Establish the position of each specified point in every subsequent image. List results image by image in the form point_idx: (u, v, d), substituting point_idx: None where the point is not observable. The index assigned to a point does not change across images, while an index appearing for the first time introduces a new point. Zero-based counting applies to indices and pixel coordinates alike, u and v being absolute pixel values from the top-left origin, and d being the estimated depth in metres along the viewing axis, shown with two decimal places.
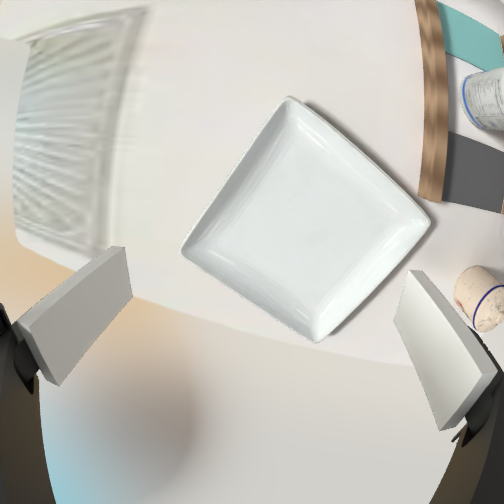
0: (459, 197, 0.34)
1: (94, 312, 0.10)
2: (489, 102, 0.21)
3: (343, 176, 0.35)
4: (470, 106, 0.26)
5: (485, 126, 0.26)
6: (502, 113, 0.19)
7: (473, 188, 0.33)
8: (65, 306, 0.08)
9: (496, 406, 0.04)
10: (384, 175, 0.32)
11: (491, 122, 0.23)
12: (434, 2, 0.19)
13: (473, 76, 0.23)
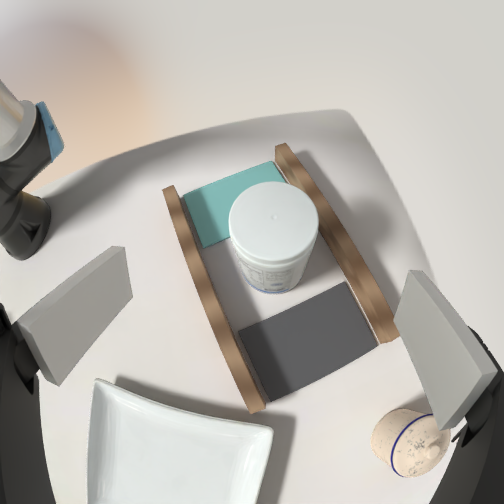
0: (304, 378, 0.34)
1: (94, 312, 0.10)
2: (247, 270, 0.32)
3: (169, 428, 0.32)
4: (252, 284, 0.37)
5: (281, 288, 0.36)
6: (258, 272, 0.30)
7: (317, 357, 0.35)
8: (65, 306, 0.08)
9: (496, 406, 0.04)
10: (191, 415, 0.30)
11: (273, 284, 0.34)
12: (176, 201, 0.42)
13: None
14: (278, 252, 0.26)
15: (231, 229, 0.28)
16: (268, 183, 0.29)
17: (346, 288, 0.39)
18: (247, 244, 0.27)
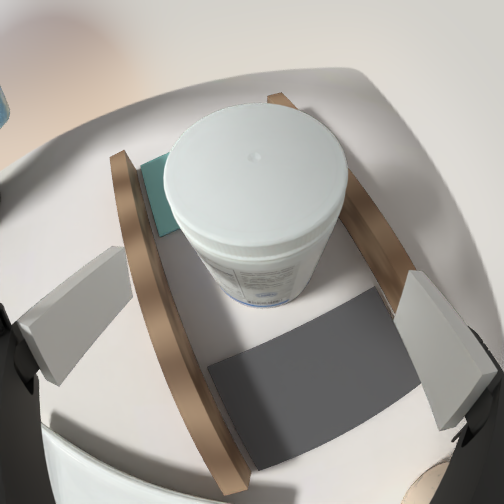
0: (312, 438, 0.19)
1: (94, 312, 0.10)
2: (211, 270, 0.17)
3: (117, 488, 0.17)
4: (227, 292, 0.22)
5: (275, 301, 0.21)
6: (227, 273, 0.15)
7: (332, 407, 0.20)
8: (65, 306, 0.08)
9: (496, 406, 0.04)
10: (139, 484, 0.16)
11: (260, 295, 0.19)
12: (124, 170, 0.27)
13: None
14: (262, 227, 0.11)
15: (166, 184, 0.13)
16: (246, 105, 0.14)
17: (378, 297, 0.24)
18: (194, 211, 0.12)
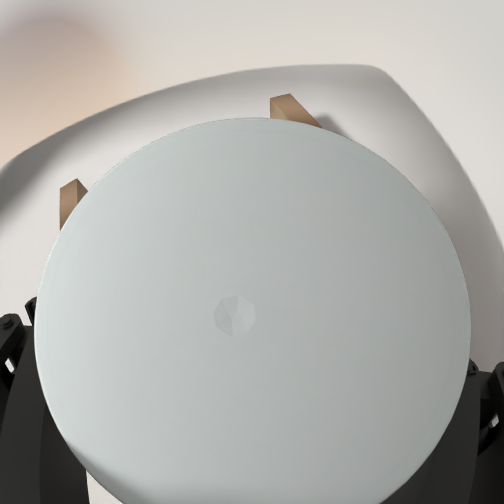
0: None
1: None
2: None
3: None
4: None
5: None
6: None
7: None
8: None
9: None
10: None
11: None
12: None
13: None
14: None
15: (37, 358, 0.04)
16: (223, 125, 0.06)
17: None
18: (95, 454, 0.03)
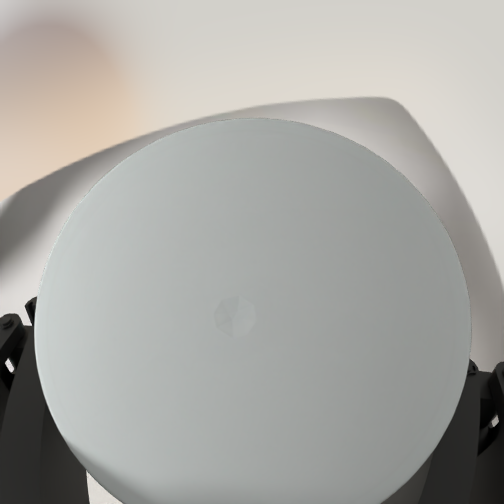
0: None
1: None
2: None
3: None
4: None
5: None
6: None
7: None
8: None
9: None
10: None
11: None
12: None
13: None
14: None
15: (37, 359, 0.04)
16: (223, 125, 0.06)
17: None
18: (95, 455, 0.03)
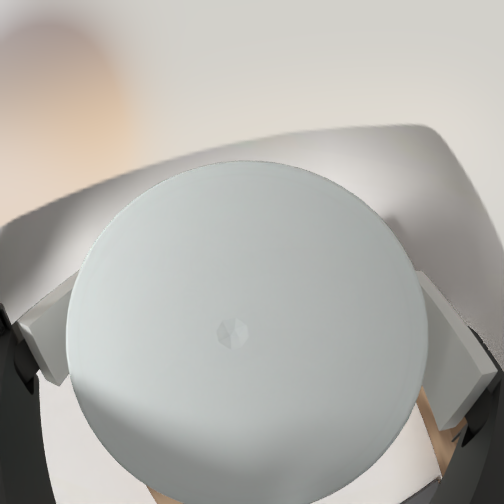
0: None
1: None
2: None
3: None
4: None
5: None
6: None
7: None
8: (65, 306, 0.08)
9: (496, 406, 0.04)
10: None
11: None
12: None
13: None
14: (248, 494, 0.04)
15: (70, 367, 0.05)
16: (222, 168, 0.07)
17: None
18: (121, 443, 0.05)
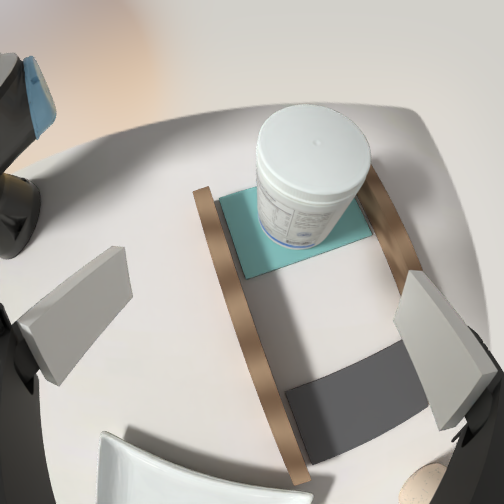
0: (352, 442, 0.26)
1: (94, 312, 0.10)
2: (271, 212, 0.25)
3: (192, 486, 0.24)
4: (271, 233, 0.30)
5: (306, 242, 0.29)
6: (287, 213, 0.23)
7: (369, 420, 0.26)
8: (65, 306, 0.08)
9: (496, 406, 0.04)
10: (224, 483, 0.22)
11: (300, 234, 0.27)
12: (213, 213, 0.30)
13: None
14: (322, 184, 0.19)
15: (261, 149, 0.20)
16: (310, 106, 0.21)
17: None
18: (281, 169, 0.19)
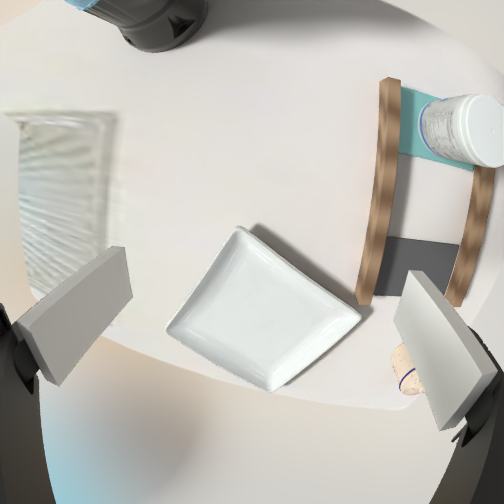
0: (397, 291, 0.45)
1: (94, 312, 0.10)
2: (442, 135, 0.27)
3: (286, 284, 0.47)
4: (426, 136, 0.32)
5: (442, 156, 0.32)
6: (454, 147, 0.26)
7: None
8: (65, 306, 0.08)
9: (496, 406, 0.04)
10: (318, 287, 0.43)
11: (446, 154, 0.29)
12: (398, 101, 0.30)
13: (432, 105, 0.29)
14: (484, 156, 0.21)
15: (467, 115, 0.20)
16: (499, 104, 0.18)
17: (456, 251, 0.40)
18: (472, 135, 0.21)
